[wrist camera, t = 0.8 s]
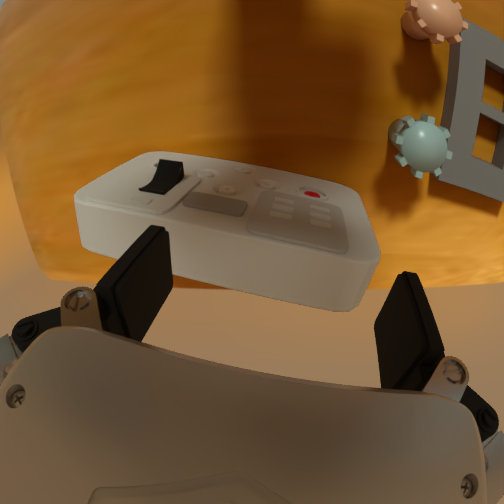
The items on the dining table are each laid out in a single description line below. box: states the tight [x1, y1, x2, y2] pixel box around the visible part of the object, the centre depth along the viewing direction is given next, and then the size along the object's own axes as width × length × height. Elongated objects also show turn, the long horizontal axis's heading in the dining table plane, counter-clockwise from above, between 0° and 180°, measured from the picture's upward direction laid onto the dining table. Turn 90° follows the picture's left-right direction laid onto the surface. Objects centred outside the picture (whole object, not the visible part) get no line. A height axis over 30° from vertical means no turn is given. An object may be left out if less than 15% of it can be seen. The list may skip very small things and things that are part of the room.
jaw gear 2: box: [388, 114, 453, 179], centre depth 27 cm, size 7×7×8 cm
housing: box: [430, 18, 504, 202], centre depth 23 cm, size 22×14×3 cm, turn 175°
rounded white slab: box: [74, 151, 380, 312], centre depth 30 cm, size 29×8×18 cm, turn 82°
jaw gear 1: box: [401, 0, 468, 44], centre depth 18 cm, size 7×7×8 cm
